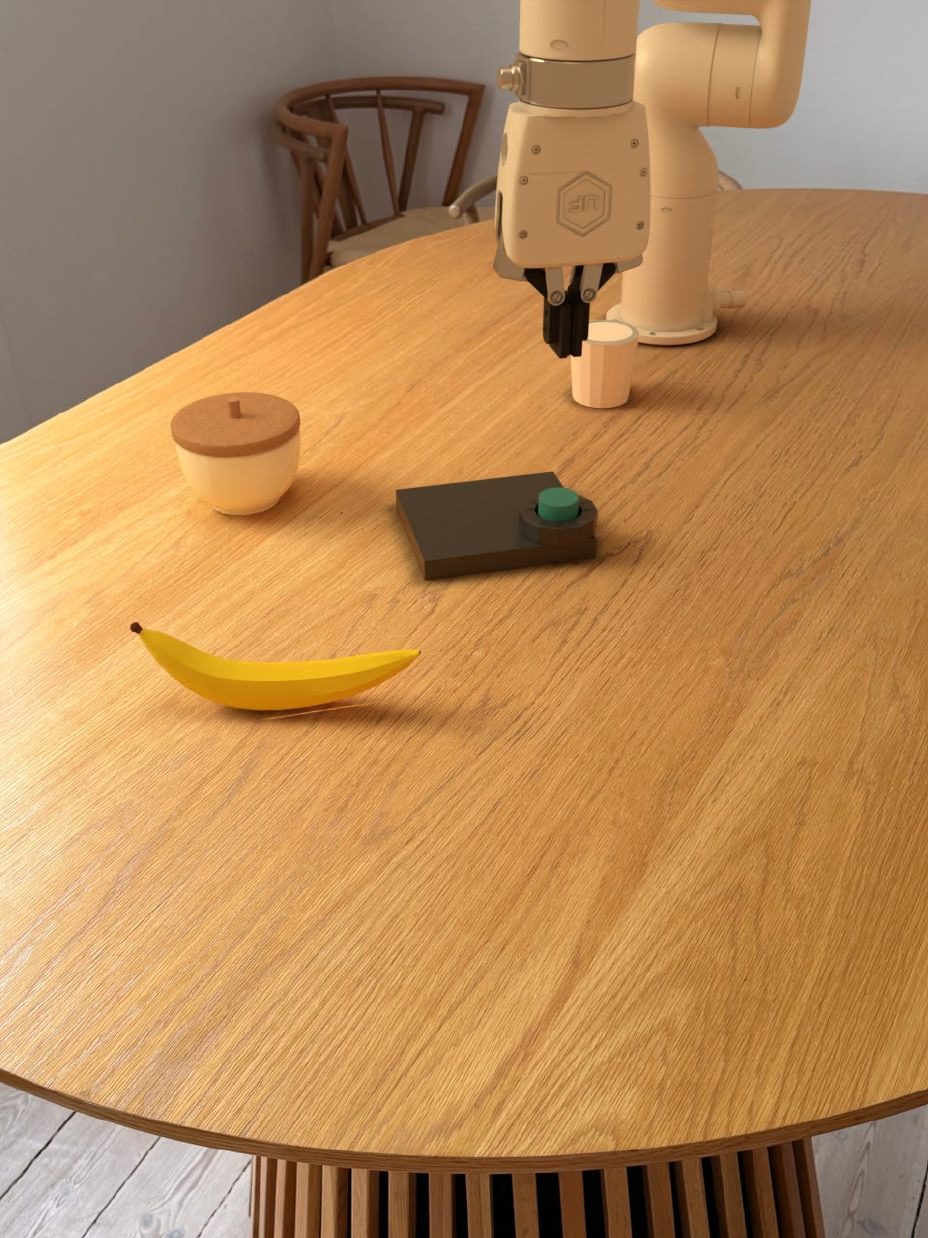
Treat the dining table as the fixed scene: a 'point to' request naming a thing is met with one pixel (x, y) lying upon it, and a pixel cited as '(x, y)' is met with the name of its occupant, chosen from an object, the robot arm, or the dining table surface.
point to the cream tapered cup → (605, 364)
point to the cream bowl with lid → (238, 449)
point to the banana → (271, 674)
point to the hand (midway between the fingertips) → (564, 350)
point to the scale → (491, 526)
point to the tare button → (558, 504)
